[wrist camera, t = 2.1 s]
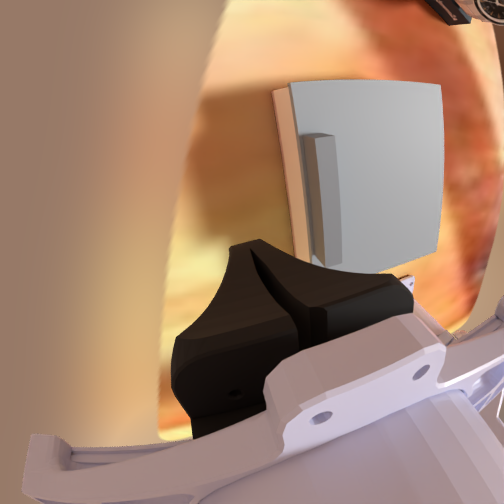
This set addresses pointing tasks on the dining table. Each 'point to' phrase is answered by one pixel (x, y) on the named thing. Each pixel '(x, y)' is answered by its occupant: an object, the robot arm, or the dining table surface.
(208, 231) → the dining table surface
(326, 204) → the lid
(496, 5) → the watch
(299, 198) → the box
